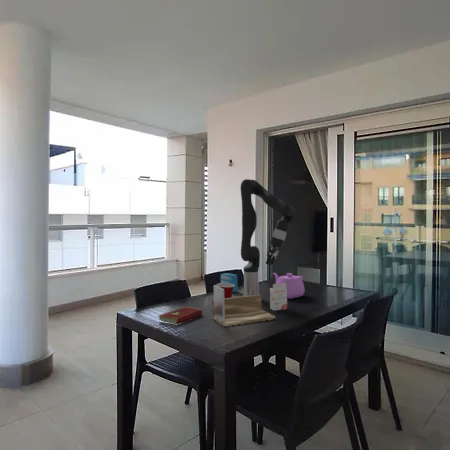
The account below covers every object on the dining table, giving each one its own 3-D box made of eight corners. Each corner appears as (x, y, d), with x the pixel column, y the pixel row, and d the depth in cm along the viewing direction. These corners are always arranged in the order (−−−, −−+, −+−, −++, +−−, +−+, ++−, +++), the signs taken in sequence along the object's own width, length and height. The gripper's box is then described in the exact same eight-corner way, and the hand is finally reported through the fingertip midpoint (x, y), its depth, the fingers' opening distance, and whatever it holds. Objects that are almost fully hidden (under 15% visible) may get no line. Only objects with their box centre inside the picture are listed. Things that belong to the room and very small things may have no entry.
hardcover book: (202, 316, 193) (202, 308, 192) (176, 327, 175) (176, 318, 175) (184, 313, 199) (184, 305, 199) (158, 323, 181) (158, 315, 181)
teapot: (312, 295, 235) (312, 272, 234) (291, 301, 221) (290, 276, 221) (285, 290, 252) (285, 269, 252) (264, 295, 239) (263, 272, 239)
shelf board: (212, 318, 187) (212, 300, 187) (260, 311, 198) (260, 294, 197) (224, 326, 172) (223, 307, 172) (275, 319, 183) (275, 300, 183)
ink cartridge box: (283, 307, 207) (283, 281, 206) (287, 309, 202) (287, 283, 201) (269, 308, 204) (269, 282, 204) (273, 310, 200) (272, 284, 199)
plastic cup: (233, 306, 211) (232, 285, 210) (215, 305, 213) (214, 285, 212) (236, 302, 221) (236, 282, 221) (219, 301, 223) (218, 282, 223)
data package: (220, 290, 256) (220, 273, 256) (224, 289, 259) (224, 273, 259) (233, 292, 248) (233, 275, 248) (237, 291, 251) (237, 274, 251)
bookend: (214, 316, 185) (213, 285, 185) (215, 316, 186) (215, 285, 185) (222, 322, 174) (222, 289, 174) (224, 322, 174) (224, 289, 174)
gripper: (275, 237, 218) (266, 262, 218) (269, 234, 205) (260, 261, 205) (286, 241, 215) (278, 266, 215) (281, 238, 202) (272, 266, 202)
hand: (269, 264), depth 210 cm, fingers open, 8 cm apart
